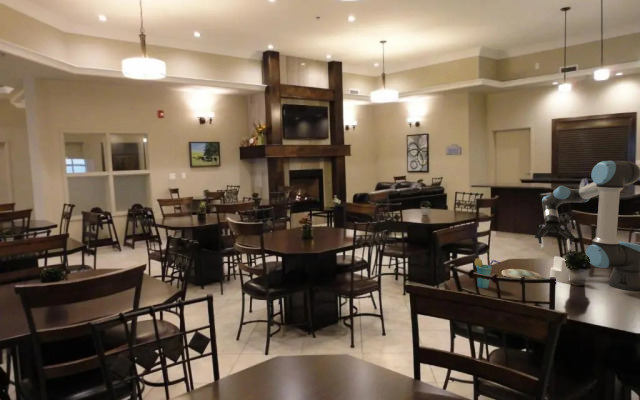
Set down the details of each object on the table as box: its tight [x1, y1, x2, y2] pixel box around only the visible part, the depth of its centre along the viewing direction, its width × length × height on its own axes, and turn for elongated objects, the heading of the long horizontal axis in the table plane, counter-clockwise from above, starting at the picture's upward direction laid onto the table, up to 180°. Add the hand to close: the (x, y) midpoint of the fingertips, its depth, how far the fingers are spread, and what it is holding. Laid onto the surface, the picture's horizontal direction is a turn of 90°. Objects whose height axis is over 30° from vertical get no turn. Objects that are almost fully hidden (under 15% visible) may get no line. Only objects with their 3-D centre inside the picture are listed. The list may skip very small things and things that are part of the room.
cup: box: [474, 257, 501, 289], centre depth 222 cm, size 14×8×15 cm, turn 41°
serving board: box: [501, 268, 542, 280], centre depth 244 cm, size 20×20×2 cm
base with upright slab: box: [549, 255, 570, 284], centre depth 237 cm, size 9×9×12 cm
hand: (556, 248), depth 246 cm, fingers open, 13 cm apart
